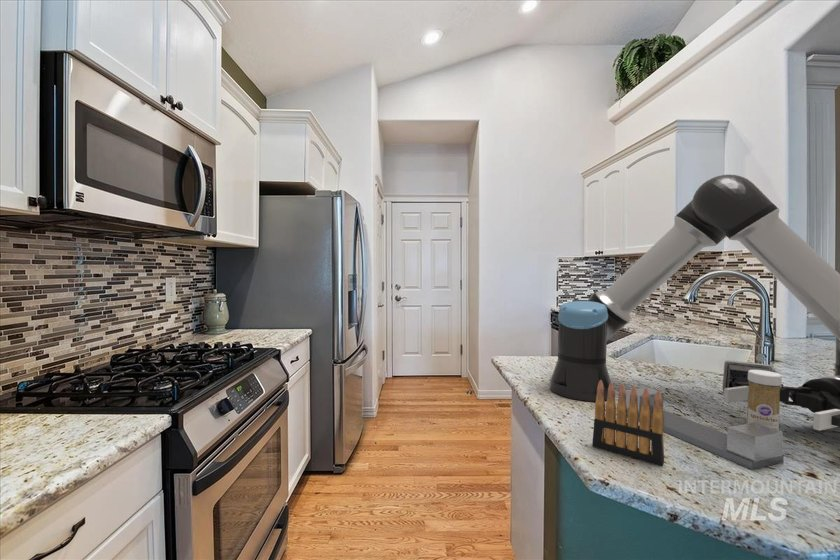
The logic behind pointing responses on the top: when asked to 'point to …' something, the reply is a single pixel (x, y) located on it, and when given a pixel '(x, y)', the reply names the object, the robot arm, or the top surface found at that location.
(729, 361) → the electrical switch
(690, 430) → the rail
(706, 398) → the top surface
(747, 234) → the robot arm
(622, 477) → the top surface
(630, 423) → the ammunition clip
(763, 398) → the sprinkles bottle
